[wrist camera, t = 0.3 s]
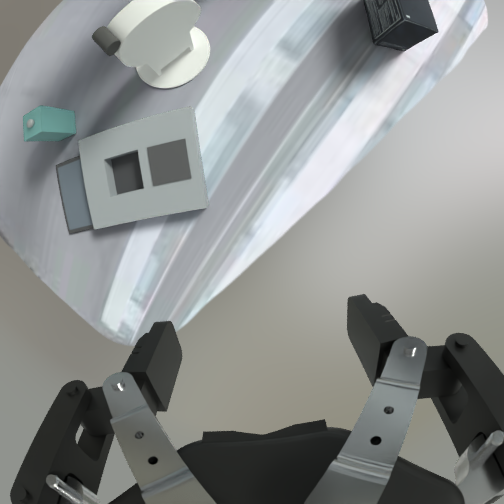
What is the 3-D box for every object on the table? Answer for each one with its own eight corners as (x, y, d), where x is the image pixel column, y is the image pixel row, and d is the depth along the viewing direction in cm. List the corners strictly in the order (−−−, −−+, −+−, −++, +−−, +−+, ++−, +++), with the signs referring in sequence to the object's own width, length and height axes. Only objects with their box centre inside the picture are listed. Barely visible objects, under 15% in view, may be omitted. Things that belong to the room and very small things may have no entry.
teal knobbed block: (57, 119, 33) (20, 116, 24) (74, 111, 33) (38, 104, 24) (58, 141, 35) (21, 141, 26) (76, 133, 34) (39, 131, 25)
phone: (72, 232, 40) (69, 233, 39) (59, 164, 36) (55, 165, 35) (98, 226, 40) (95, 227, 39) (85, 154, 36) (81, 154, 35)
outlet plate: (86, 141, 35) (77, 140, 32) (194, 109, 34) (190, 106, 32) (101, 225, 39) (93, 229, 37) (209, 205, 39) (206, 208, 36)
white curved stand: (184, 11, 29) (158, -42, 14) (229, 51, 32) (219, -1, 17) (123, 59, 31) (73, 25, 17) (164, 103, 34) (119, 76, 20)
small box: (406, 53, 30) (441, 34, 20) (372, 45, 31) (403, 20, 21) (395, 5, 27) (422, -19, 17) (361, -3, 27) (385, -32, 17)
